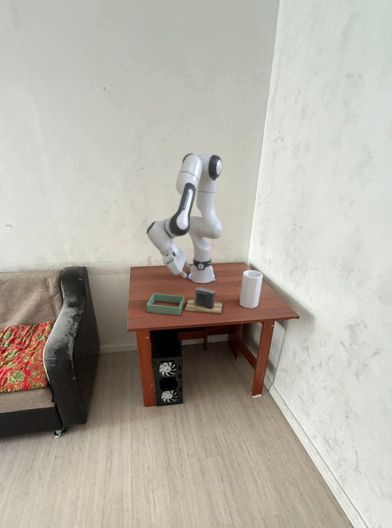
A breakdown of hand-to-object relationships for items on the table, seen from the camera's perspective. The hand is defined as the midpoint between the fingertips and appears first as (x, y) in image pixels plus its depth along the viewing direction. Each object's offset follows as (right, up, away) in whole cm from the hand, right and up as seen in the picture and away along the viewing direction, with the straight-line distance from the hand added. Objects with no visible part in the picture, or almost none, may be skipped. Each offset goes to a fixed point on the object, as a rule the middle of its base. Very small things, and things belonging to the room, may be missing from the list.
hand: (187, 272), depth 157 cm
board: (+9, -17, +9) cm, 22 cm away
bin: (-12, -18, +8) cm, 23 cm away
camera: (+9, -17, +8) cm, 21 cm away
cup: (+35, -15, +14) cm, 41 cm away
